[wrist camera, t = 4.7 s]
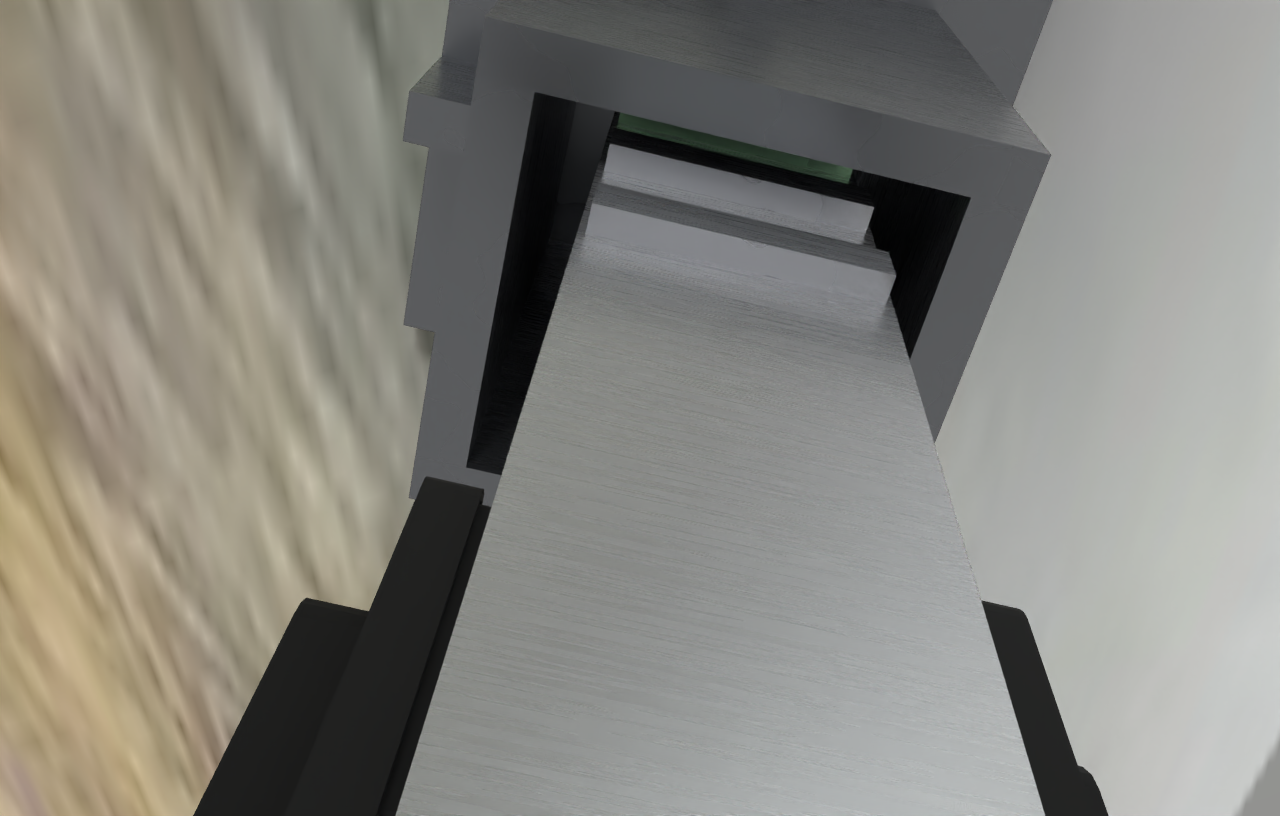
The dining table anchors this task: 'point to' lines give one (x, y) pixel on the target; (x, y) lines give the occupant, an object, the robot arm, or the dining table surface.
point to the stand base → (718, 105)
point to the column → (721, 529)
